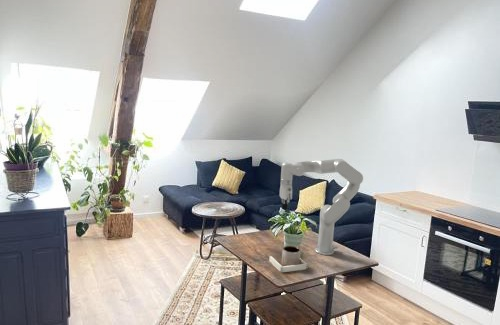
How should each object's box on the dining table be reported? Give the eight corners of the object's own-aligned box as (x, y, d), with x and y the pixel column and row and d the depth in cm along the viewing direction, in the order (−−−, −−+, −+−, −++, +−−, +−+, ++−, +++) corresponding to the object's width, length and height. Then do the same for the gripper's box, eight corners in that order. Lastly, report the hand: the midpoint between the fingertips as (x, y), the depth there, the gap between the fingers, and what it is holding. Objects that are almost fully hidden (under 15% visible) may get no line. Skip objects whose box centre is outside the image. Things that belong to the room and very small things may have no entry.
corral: (294, 258, 231) (294, 253, 231) (307, 269, 216) (308, 264, 216) (269, 261, 225) (269, 256, 224) (281, 272, 210) (281, 267, 209)
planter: (303, 266, 220) (304, 251, 219) (288, 269, 215) (289, 253, 213) (292, 259, 229) (293, 244, 228) (277, 262, 224) (279, 247, 222)
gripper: (296, 184, 234) (294, 212, 237) (286, 179, 248) (284, 205, 251) (286, 184, 231) (284, 212, 234) (276, 179, 245) (274, 206, 248)
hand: (284, 209), depth 242 cm, fingers closed
